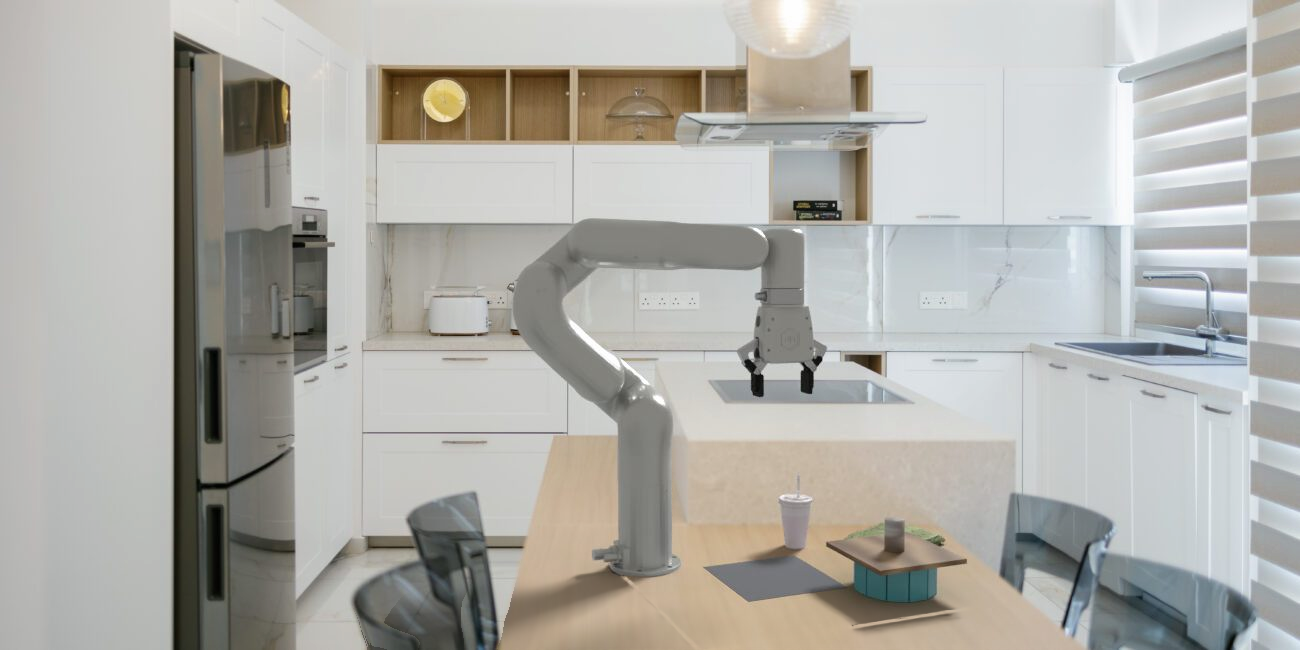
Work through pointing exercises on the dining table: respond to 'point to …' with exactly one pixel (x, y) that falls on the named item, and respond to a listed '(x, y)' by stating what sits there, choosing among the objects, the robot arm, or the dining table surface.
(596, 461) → the dining table surface
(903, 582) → the bowl
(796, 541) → the smoothie
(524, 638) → the dining table surface
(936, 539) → the washcloth
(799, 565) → the mat
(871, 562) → the cover
